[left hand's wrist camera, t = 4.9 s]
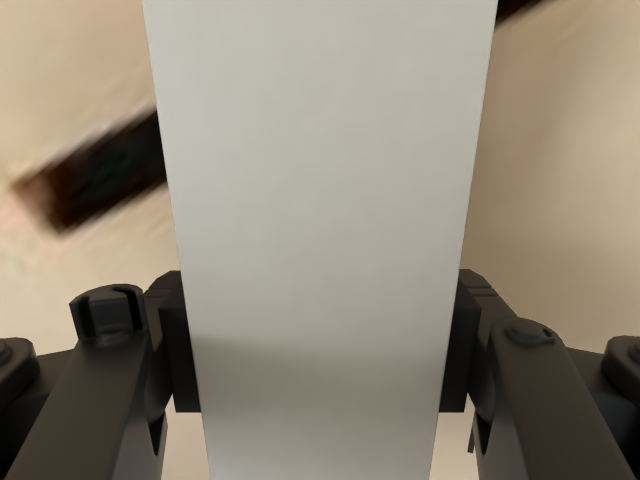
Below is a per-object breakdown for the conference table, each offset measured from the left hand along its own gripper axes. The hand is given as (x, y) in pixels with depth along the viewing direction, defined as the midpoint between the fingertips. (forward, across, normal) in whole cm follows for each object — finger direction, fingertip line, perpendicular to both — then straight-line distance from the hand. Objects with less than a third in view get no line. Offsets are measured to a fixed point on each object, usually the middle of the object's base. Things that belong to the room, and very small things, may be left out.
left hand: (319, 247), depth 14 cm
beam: (+1, 0, -22) cm, 22 cm away
